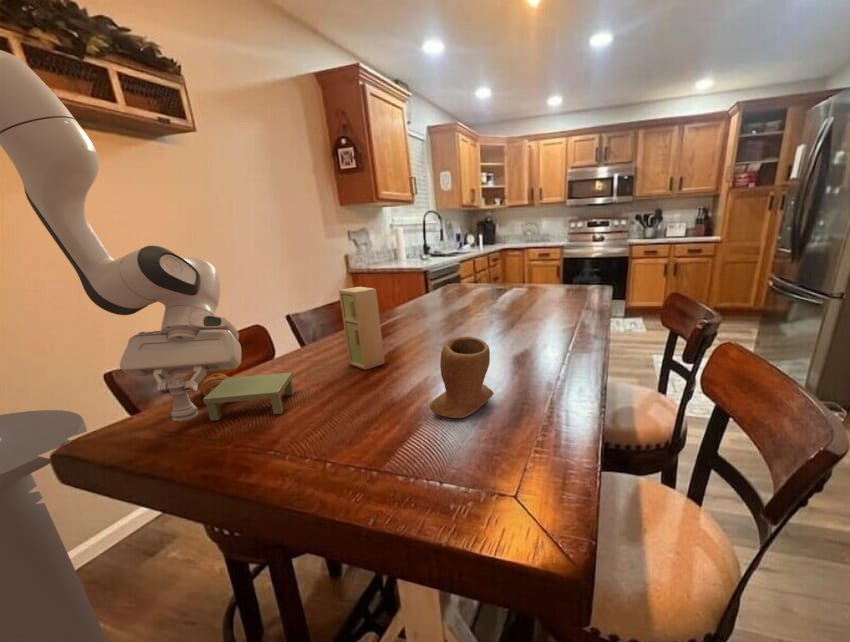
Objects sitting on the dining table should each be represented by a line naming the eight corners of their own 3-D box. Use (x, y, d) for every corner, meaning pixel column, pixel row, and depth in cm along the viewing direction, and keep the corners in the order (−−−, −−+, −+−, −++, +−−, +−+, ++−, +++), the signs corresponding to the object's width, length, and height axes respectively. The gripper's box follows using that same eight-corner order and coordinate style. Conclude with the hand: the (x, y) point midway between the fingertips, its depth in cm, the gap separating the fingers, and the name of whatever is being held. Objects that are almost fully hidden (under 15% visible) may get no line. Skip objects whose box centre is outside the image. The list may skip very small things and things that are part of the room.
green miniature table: (208, 421, 82) (202, 399, 80) (231, 397, 93) (226, 377, 91) (282, 414, 84) (278, 392, 83) (295, 391, 96) (292, 372, 94)
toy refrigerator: (346, 365, 113) (335, 289, 106) (368, 358, 118) (360, 286, 111) (362, 371, 108) (352, 292, 101) (385, 364, 113) (377, 288, 106)
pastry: (235, 396, 94) (232, 381, 92) (201, 404, 90) (196, 388, 89) (233, 384, 101) (230, 370, 100) (201, 390, 98) (197, 376, 96)
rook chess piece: (203, 411, 82) (194, 375, 80) (193, 421, 78) (183, 383, 76) (178, 414, 81) (168, 377, 79) (167, 424, 77) (156, 385, 75)
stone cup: (471, 428, 76) (469, 353, 72) (422, 415, 82) (416, 344, 77) (508, 399, 89) (508, 333, 84) (462, 389, 94) (460, 327, 90)
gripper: (120, 324, 79) (103, 390, 73) (235, 318, 82) (227, 380, 76) (141, 340, 84) (126, 402, 78) (247, 334, 88) (241, 392, 82)
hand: (177, 391), depth 77 cm, fingers closed on rook chess piece, 3 cm apart
